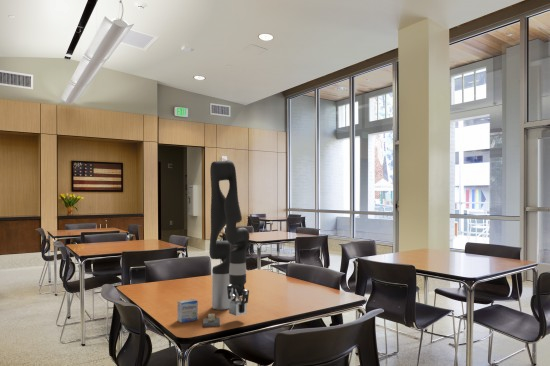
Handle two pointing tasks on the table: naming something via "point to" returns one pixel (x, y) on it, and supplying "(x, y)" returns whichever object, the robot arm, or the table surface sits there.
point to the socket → (236, 308)
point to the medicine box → (187, 310)
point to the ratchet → (211, 321)
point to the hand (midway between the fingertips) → (237, 310)
